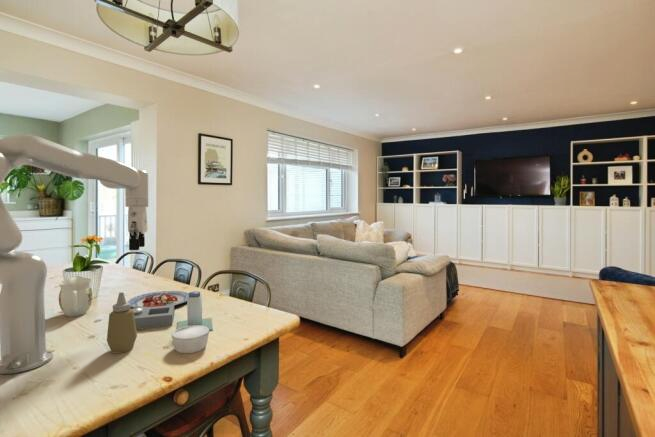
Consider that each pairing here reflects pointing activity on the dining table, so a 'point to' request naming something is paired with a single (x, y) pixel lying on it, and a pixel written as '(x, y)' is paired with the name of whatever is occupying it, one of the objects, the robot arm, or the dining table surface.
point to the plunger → (137, 310)
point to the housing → (155, 317)
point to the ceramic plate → (158, 299)
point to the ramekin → (190, 338)
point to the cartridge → (194, 308)
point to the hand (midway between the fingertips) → (137, 248)
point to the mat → (205, 322)
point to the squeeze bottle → (121, 326)
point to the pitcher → (75, 296)
